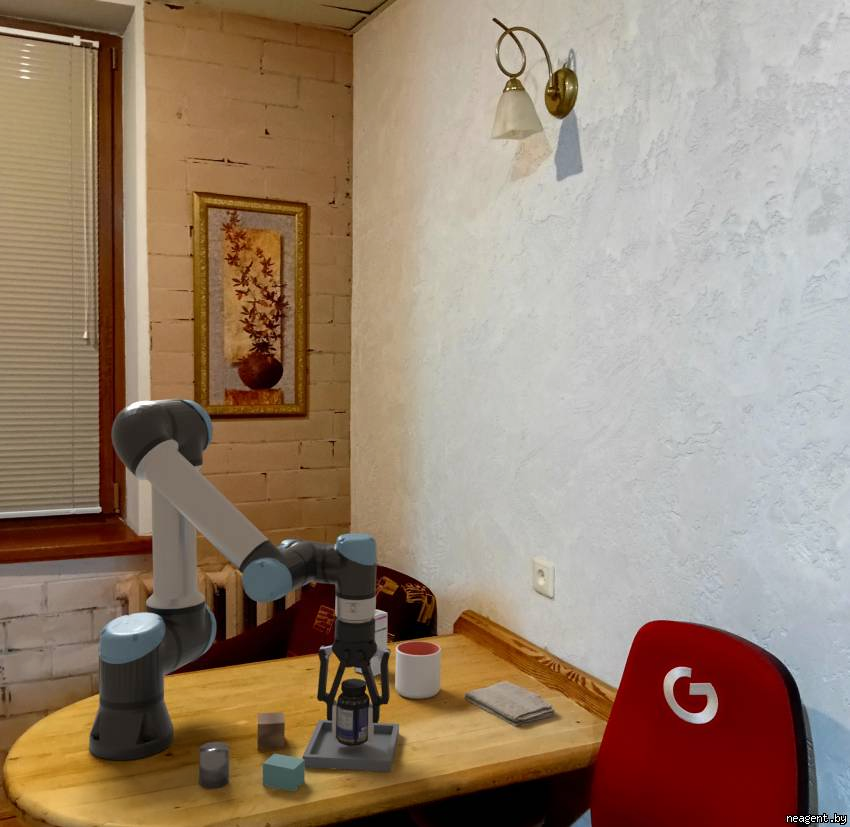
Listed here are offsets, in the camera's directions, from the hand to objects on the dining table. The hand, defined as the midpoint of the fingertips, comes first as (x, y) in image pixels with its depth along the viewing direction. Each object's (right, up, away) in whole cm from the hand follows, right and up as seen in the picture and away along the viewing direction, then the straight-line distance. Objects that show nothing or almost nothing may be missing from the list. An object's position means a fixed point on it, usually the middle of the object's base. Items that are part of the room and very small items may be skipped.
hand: (352, 737), depth 163 cm
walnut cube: (-16, -2, +2) cm, 16 cm away
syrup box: (+1, 0, +41) cm, 41 cm away
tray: (0, -2, 0) cm, 2 cm away
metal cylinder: (-23, -3, -13) cm, 27 cm away
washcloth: (+32, -3, +22) cm, 39 cm away
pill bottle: (0, -1, 0) cm, 1 cm away
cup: (+12, -1, +29) cm, 32 cm away
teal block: (-11, -3, -13) cm, 17 cm away
